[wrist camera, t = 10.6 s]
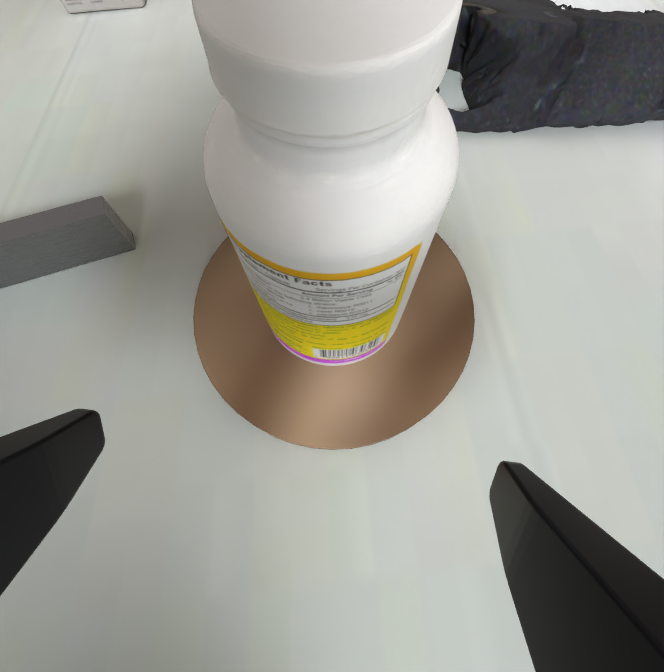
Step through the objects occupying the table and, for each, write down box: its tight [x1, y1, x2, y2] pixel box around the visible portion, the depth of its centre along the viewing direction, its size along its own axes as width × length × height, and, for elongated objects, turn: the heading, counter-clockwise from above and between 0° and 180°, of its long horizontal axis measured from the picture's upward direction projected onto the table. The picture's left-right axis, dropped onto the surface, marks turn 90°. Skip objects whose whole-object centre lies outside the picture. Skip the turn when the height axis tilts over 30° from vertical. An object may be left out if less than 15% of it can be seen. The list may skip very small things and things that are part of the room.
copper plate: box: [193, 232, 474, 450], centre depth 19 cm, size 14×14×1 cm
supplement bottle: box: [192, 0, 463, 366], centre depth 12 cm, size 7×7×13 cm
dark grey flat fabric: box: [436, 0, 664, 133], centre depth 25 cm, size 15×22×5 cm
